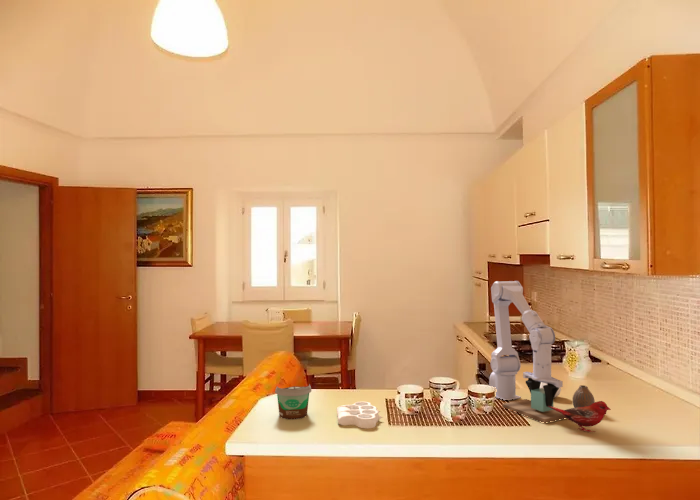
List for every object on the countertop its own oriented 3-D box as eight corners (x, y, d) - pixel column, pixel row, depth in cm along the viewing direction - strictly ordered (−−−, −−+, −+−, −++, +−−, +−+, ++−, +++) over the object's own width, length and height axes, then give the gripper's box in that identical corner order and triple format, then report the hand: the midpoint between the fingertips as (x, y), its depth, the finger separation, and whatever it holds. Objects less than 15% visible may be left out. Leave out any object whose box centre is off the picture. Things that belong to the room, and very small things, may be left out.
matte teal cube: (530, 407, 166) (530, 390, 166) (541, 405, 168) (541, 388, 168) (543, 411, 161) (543, 393, 161) (553, 409, 164) (553, 391, 164)
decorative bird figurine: (610, 437, 145) (610, 403, 145) (547, 426, 154) (547, 395, 154) (611, 434, 148) (611, 401, 148) (548, 424, 156) (548, 392, 157)
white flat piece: (336, 411, 170) (378, 410, 171) (338, 430, 152) (385, 429, 153) (336, 401, 170) (378, 401, 171) (338, 419, 152) (385, 418, 153)
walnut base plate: (502, 408, 172) (502, 394, 172) (526, 403, 178) (526, 389, 178) (544, 423, 157) (544, 408, 157) (569, 417, 162) (569, 402, 162)
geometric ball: (554, 404, 186) (568, 388, 185) (547, 400, 181) (561, 384, 180) (539, 390, 192) (552, 374, 191) (531, 386, 186) (545, 370, 185)
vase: (592, 409, 171) (592, 384, 171) (596, 415, 165) (596, 389, 165) (571, 407, 173) (571, 382, 173) (574, 413, 167) (574, 388, 167)
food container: (277, 422, 158) (277, 391, 158) (274, 416, 164) (274, 386, 164) (314, 418, 161) (314, 388, 161) (311, 412, 167) (311, 383, 167)
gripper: (516, 360, 169) (516, 399, 169) (552, 369, 157) (552, 411, 156) (531, 358, 173) (531, 396, 173) (566, 366, 160) (566, 408, 160)
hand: (542, 403), depth 165 cm, fingers closed on matte teal cube, 5 cm apart
